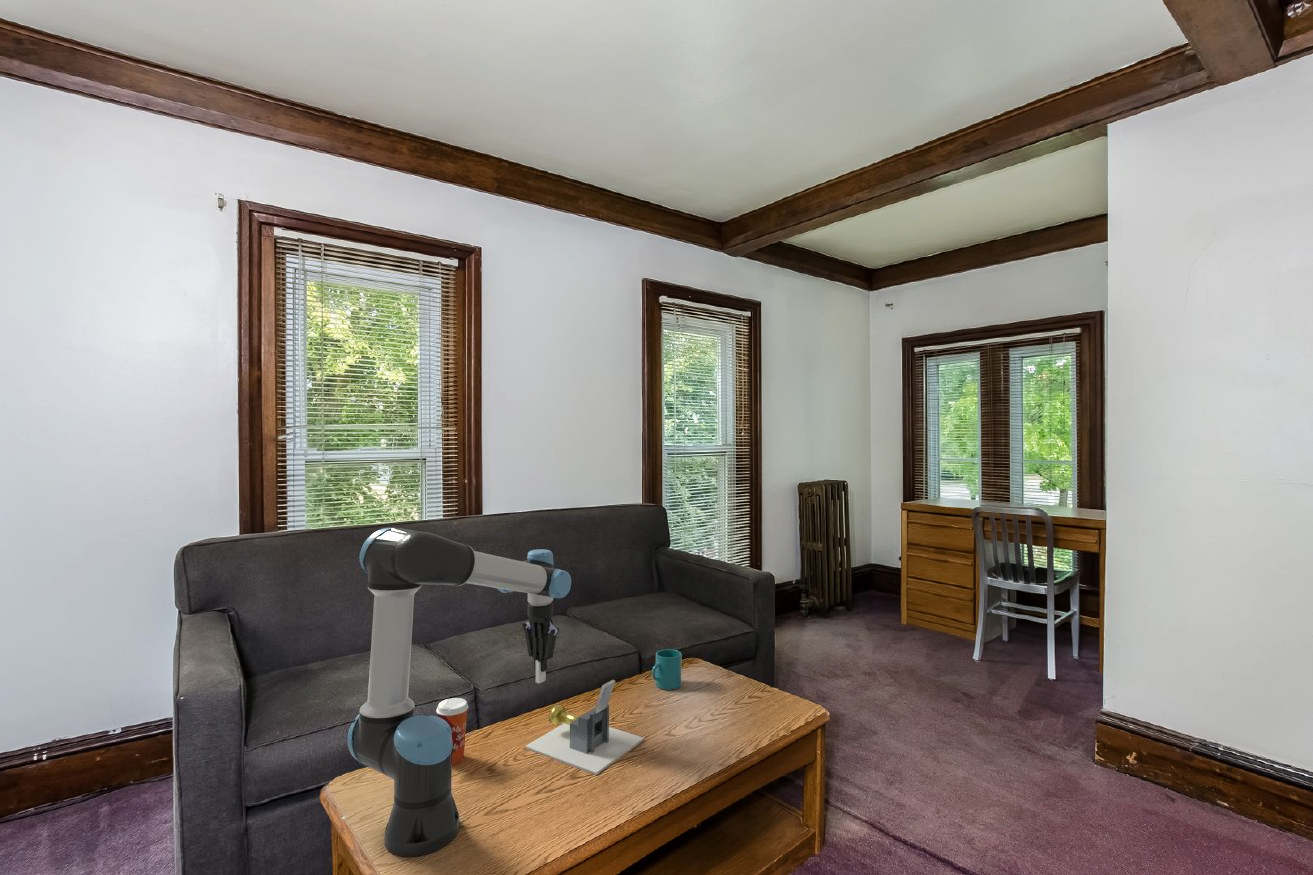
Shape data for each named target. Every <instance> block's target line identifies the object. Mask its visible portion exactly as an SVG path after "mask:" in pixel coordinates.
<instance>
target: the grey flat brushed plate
mask: <svg viewBox="0 0 1313 875" xmlns="http://www.w3.org/2000/svg"><path fill="white" fill-rule="evenodd" d="M615 683H616V680H614V679H611V680H610V681H608V682H606V683H604V684H602V685H601V687H600V688H601V689H600V690H599V692H600V693H598V694H599V695H598V698H597V702H596V703H595V707H594V708H595V709H594V713H595V714H597V713H598V712H600V711H602V710H603V709H605V708H607V705H609V701H610V698H611V696H612V693H613V689H614V686H615Z"/></svg>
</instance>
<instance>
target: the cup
mask: <svg viewBox="0 0 1313 875" xmlns="http://www.w3.org/2000/svg"><path fill="white" fill-rule="evenodd" d="M682 660H683V658H682V652H681V651H679V650H676V649H669V648H668V649H667V648H665V649H661V650H658V651H657V652H655V664H654V665H653V666H652V669H651V678H652V679H653V680H654V681H655V686H656V687H657V688H659V689H660V690H664V689H667V690H666V691H671V690H670V689H674V690H677V689H680V687H681V686H682Z"/></svg>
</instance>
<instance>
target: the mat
mask: <svg viewBox="0 0 1313 875" xmlns="http://www.w3.org/2000/svg"><path fill="white" fill-rule="evenodd" d="M644 740H645V738H644V737H642V736H639V735H636V734H633V733H630V732H627V731H623V730H619V729H617V728H614V727H611V726H609V742H608V743H606V742H604V743H602V744H601V745H599V746H598V747H596V748H595V749H594V752H593V753H591V752H589V753H587V754H585V753H582V752H580V751H577V750H574V749H571V748H570V725H568V724H565V723H562V724H560V725H558V726H557V727H556V728H554V729H552V730H550V731H549V732H547V733H545V734H543V735H542V736H540V737H538V738H537V739H535V740H533V741H532V742H530V743H528V744H526V745H525V746H524V749H526V750H528V751H532V752H534V753H536V754H539V755H542V756H545V757H548V758H550V759H552V760H556V761H558V762H561V763H564V764H566V765H568V766H571V767H573V768H576V769H579V770H582V771H584V772H587V773H588V774H592V775H595V776H598V775H599V774H600V773H602V772H603V771H604V770H606V768H608V767H609V766H611V765H612V764H614V763H615V762H616V761H618V760H619V759H620V758H622V757H623V756H624V755H626V754H627V753H629V752H630V751H631V750H632V749H634V748H635V747H637V746H638V745H640V744H641V743H642V742H643V741H644ZM636 745H637V746H636ZM625 753H626V754H625Z"/></svg>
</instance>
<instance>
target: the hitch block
mask: <svg viewBox="0 0 1313 875" xmlns="http://www.w3.org/2000/svg"><path fill="white" fill-rule="evenodd" d="M594 709H595V707H593V708H592V709H590V710H588V711H586V712H585V713H583V714H581V715H579V716H580V717H578V719H576V720H575V721H573V722H571V723H570V748H571V749H574V750H577V751H580V752H582V753H585V754H587V753H589V752H591V753H593V752H594V749H595V748H596V747H598V746H599V745H601V744H602V743H604V742H606V743H608V742H609V727H610V704H608V705H607V708H605V709H603V710H602V711H600V712H598V713H597V714H595V713H594Z"/></svg>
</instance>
